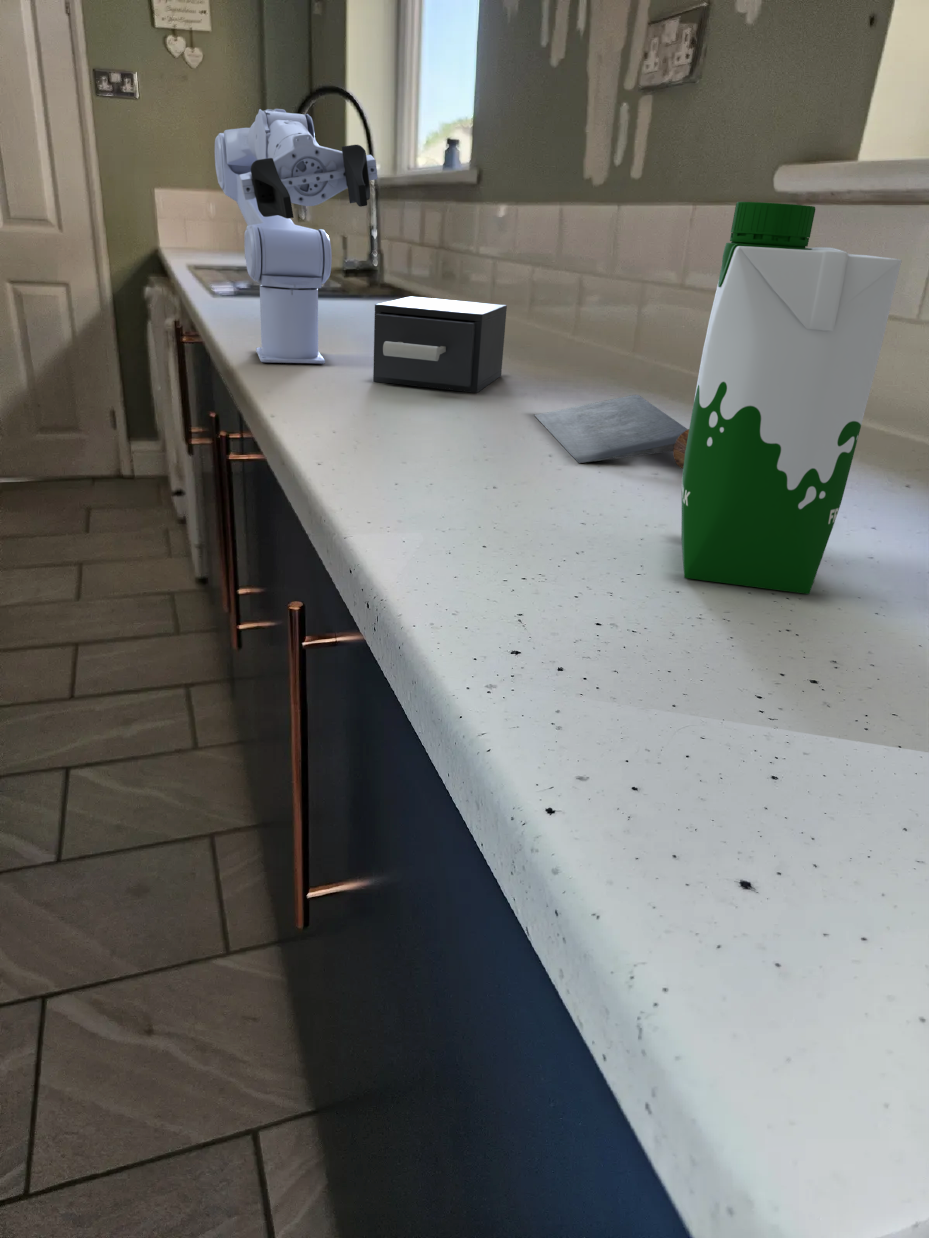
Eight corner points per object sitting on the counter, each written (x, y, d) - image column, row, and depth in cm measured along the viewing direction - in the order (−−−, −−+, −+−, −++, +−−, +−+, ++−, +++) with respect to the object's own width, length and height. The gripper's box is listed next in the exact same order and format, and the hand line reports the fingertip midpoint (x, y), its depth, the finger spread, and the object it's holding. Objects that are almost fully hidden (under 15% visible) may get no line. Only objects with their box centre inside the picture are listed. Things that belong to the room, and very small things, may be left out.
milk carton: (666, 534, 58) (723, 203, 50) (807, 552, 57) (890, 214, 48) (668, 582, 50) (735, 199, 42) (831, 604, 49) (935, 211, 40)
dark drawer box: (458, 394, 94) (462, 328, 91) (358, 382, 96) (359, 318, 93) (492, 371, 109) (497, 314, 106) (405, 362, 111) (407, 306, 108)
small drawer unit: (476, 393, 100) (482, 314, 96) (372, 381, 102) (374, 304, 99) (501, 375, 112) (507, 305, 108) (407, 365, 114) (410, 296, 111)
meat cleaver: (532, 415, 91) (536, 375, 89) (636, 418, 92) (642, 380, 91) (632, 524, 61) (641, 468, 59) (783, 526, 62) (796, 472, 61)
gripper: (226, 132, 93) (245, 170, 83) (357, 113, 96) (391, 148, 86) (240, 201, 98) (260, 244, 88) (365, 181, 101) (397, 221, 91)
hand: (326, 202), depth 88 cm, fingers open, 7 cm apart
